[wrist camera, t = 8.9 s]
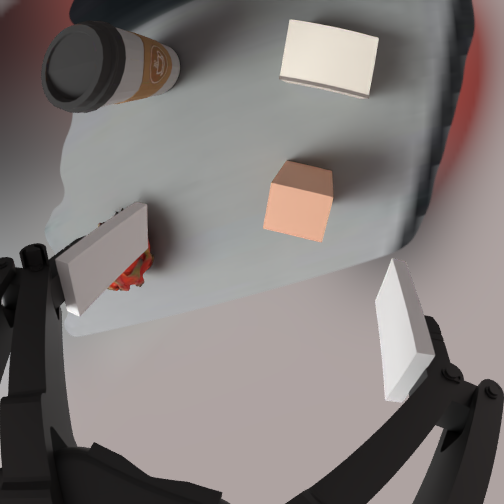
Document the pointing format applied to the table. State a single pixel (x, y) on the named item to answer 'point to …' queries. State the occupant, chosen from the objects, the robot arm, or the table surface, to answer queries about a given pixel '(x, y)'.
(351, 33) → the cream white block
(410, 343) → the robot arm
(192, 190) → the table surface
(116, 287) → the dragon fruit
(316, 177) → the salmon orange rectangular block
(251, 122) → the table surface
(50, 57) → the coffee cup
